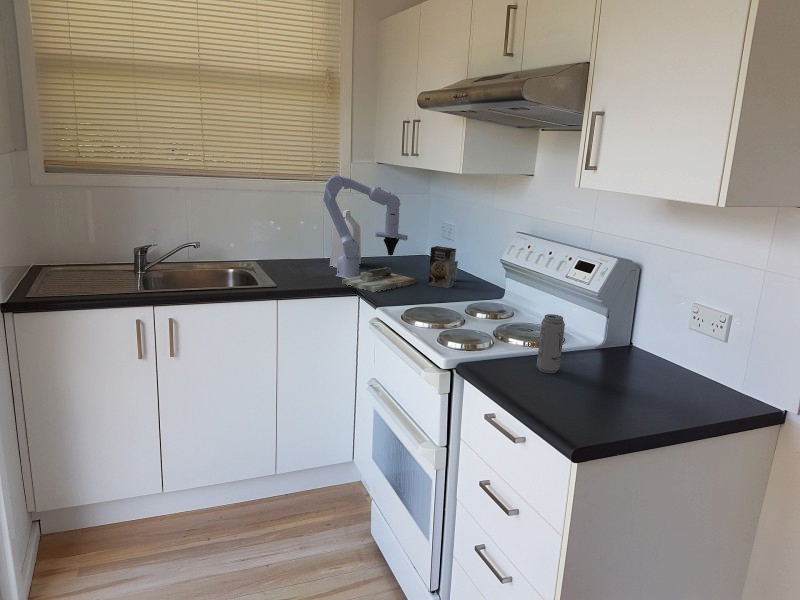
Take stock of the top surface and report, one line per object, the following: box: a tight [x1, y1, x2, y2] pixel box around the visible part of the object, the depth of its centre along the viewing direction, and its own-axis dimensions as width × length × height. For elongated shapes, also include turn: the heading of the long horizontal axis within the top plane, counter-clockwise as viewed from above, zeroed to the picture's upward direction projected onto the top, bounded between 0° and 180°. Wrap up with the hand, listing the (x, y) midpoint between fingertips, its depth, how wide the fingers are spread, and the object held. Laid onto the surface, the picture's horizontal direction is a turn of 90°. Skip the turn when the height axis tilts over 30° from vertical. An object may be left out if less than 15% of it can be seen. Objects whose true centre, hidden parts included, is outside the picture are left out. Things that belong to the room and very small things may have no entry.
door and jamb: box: [341, 271, 417, 293], centre depth 252 cm, size 18×26×5 cm
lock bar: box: [367, 266, 392, 277], centre depth 255 cm, size 12×3×3 cm, turn 135°
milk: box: [329, 209, 362, 268], centre depth 283 cm, size 12×12×26 cm
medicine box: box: [453, 260, 459, 283], centre depth 265 cm, size 8×4×9 cm, turn 76°
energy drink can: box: [536, 313, 566, 374], centre depth 162 cm, size 6×6×15 cm
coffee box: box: [428, 245, 457, 289], centre depth 253 cm, size 9×6×16 cm
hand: (390, 255), depth 261 cm, fingers closed
